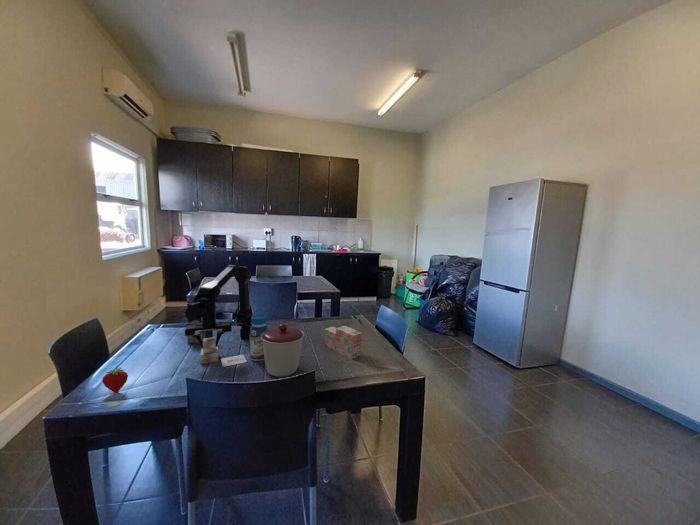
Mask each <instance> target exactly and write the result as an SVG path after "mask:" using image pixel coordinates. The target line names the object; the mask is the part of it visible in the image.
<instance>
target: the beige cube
mask: <svg viewBox="0 0 700 525" xmlns="http://www.w3.org/2000/svg"><path fill="white" fill-rule="evenodd" d="M216 338H217V336H216V337H215V336H213V337H211V338H204V339H203V348H202V349H203V353H210V352H216V347H217V346H216Z"/></svg>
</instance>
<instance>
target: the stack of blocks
mask: <svg viewBox="0 0 700 525" xmlns="http://www.w3.org/2000/svg"><path fill="white" fill-rule="evenodd" d="M323 335H324V336H323V346H324V347H327V348H328V347H329V349H330V348H331V349H330V350H332V349H333V351H335V352H336V351H337V353H338V352H339V353H338V354H340V353H341V354H340V355H343V356H344V357H346V358H348V359H350V358H351V359H352V360H354V359H353V358H355V359H356V357H357V356H359V357H361V354H362V353H361V352H362V351H361V350H362V339H363V338H362V336H363V333H362V332H360V331H359V330H357V329H354V328H351V327H349V326H346V325H342V326H339V327H335V326H333V325H332V326H329V327H327V328H324V330H323ZM357 358H358V357H357ZM351 359H350V360H351Z"/></svg>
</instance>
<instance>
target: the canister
mask: <svg viewBox="0 0 700 525" xmlns="http://www.w3.org/2000/svg"><path fill="white" fill-rule="evenodd" d="M304 337H305V332H304V331H303V330H301V329H299V328H297V327H296V326H291V325H287V324H286V323H281V324H279V325H278V326H273V327H270V328H268V330H266V331H264V332H263V333H262V334H261V339H262V341H263V350H264V366H265V370H266V371H267V373H268V374H269V375H271V376H273V377H277V378H279V377H281V378H282V377H288V376H291V375H293V374H294V373H295V372H296V371H297V370H298V368H299V364H300V360H301V359H300V358H301V351H302V346H303V345H302V344H303V338H304Z"/></svg>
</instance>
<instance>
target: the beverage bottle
mask: <svg viewBox="0 0 700 525" xmlns="http://www.w3.org/2000/svg"><path fill="white" fill-rule="evenodd" d="M251 324H252V326H251V328H250V335H249V338H248V339H249V359H250V360H252V361H255V362H258V361H259V362H260V361H265V359H264V350H263V341H262V339H261V334H262V333H263V332H264V331H266V330H268V329H269V328H268V327H267V315H265V314H260V313H259V314H253V316H252V317H251Z"/></svg>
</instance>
